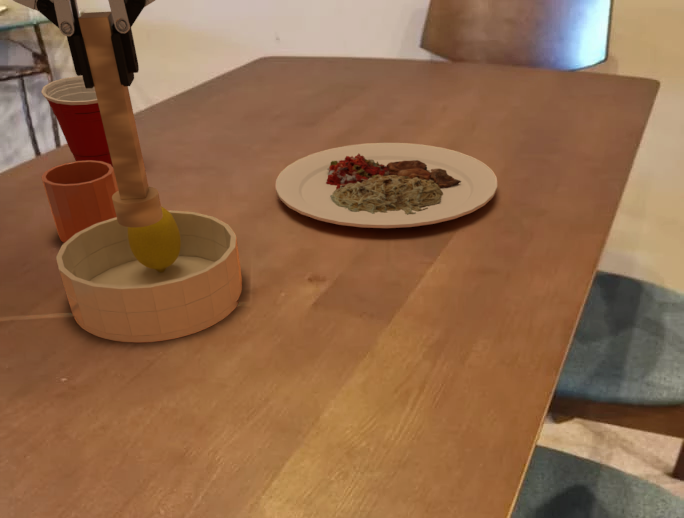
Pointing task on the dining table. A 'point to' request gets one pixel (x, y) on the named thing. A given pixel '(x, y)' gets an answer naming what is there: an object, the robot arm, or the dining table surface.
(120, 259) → the bowl
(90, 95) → the plastic cup
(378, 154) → the plated food
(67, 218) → the crock
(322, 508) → the dining table surface
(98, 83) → the wooden stirring stick
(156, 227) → the lemon
